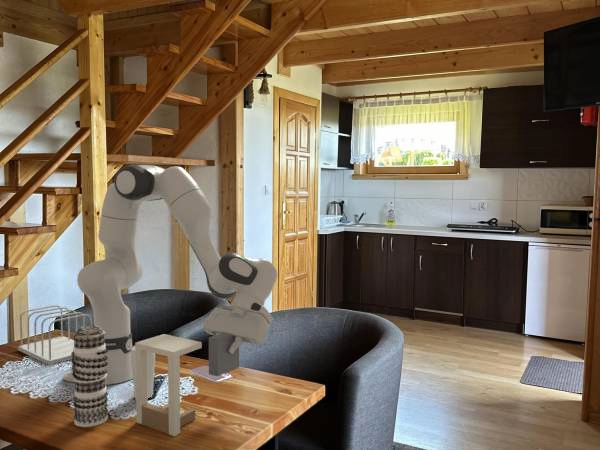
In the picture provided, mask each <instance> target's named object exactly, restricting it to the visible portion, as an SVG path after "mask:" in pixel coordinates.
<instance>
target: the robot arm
mask: <svg viewBox="0 0 600 450" xmlns="http://www.w3.org/2000/svg"><path fill="white" fill-rule="evenodd" d="M114 176H115V177H114V181H113V183H110V185H109V186H108V188H107V190H106V192H105V194H104V195H105V196H104V197H103V198H104V199H103V203H102V206H101V214H100V220H99V229H98V236H97V237H98V239H99V242H100V243H101V244H102V245H103V248H104V254H105V255H104V259H100V260H96V261H95V260H94V261H92V262H90V263H89V264H86V266H84V267H82V268H81V269H80V270H79V272H78V274H77V278H76V279H77V280H76V281H77V286H78V288H79V290H80V291H81V292H82V293H83V294H84V295H85V296H86V297H87V299H88V300H89V303H90V305H91V308H92V312H93V313H92V314H93V326H99V327H101V329H102V330H103V331H105V332H106V333H105V335H104V337H105V341H104V342H105V346H106V349H108V352H107V353H106V354H104V355H105V356H107V357H108V359H107V360H106V362H108V364H107V366H105V369H107V377H106V378H105V382H106V383H105V385H106V386H108V385H115V384H119V383H120V384H121V383H124V382H127V381H130V380H133V374H132V365H131V349H132V347H133V333H132V332H131V309H130V308H129V307H128V305H126V304H125V303H124V301H123V297H122V290H125V289H128V288H131V287H132V286H134V285H135V284H137V282H139V281H140V280H141V279H142V277H143V266H142V263H141V262H140V260H138V257H137V251H136V234H137V225H138V219H139V218H138V217H139V208H140V206H141V204H142V203H143V202H145V201H147V202H148V201H149V202H150V201H151V202H153V201H160V200H164V202H165V204H166V206H167V207H168V209H169V211H170V212H171V213H172V215H173V217H174V218H175V220H176V221H177V223H178V225H179V226H180V228H181V230H182V231H183V233H184V235H185V236H186V238H187V241H188V243H189V245H190V246H191V247H190V248H191V250H192V251H193V253H194V254H195V256H196V258H197V260H198V261H199V264H200V265H201V267H202V269H203V271H204V274H205V277H206V285H207V289H208V290H209V292H210V293H211V294H212V295H214V296H215V297H217V298H219V299H230V298H232V297H233V299H232V301H231V303H230V305H229V306H228V305H223V304H221V305H219V306H216V307H215V308H214V310H212V311H211V313H210V314H209V315H208V317H207V318H206V319H205V321H204V322H203V325H202V329H203V330H204V332H206V334H208V335H212V336H216V335H218V334H221V333H228V334H232V335H234V336H236V338H235V340H236V341H235V342H234V343H233V344H232V345H228V348H227V349H226V351H227V352H228V353H230V354H233V353H234V351H235V350H236V349H237V348H238V347H239V348H240V347H241V346H242V345H243V343H250V344H253V345H258V346H261V344H263V343H264V342H265V341H266V338H267V336H268V334H269V333H270V328H271V324H272V323H273V321H274V318H273V316H272V315H271V313H270V311H269V310H268V309H267V308H266V307H265V302H266V300H267V299H268V298H269V297H270V295H271V293H272V291H273V289H274V286H275V284H276V282H277V277H278V271H277V268H276V266H275V265H274V264H273V263H272V262H271V261H269V260H268V259H266V258H263V257H262V258H251V257H247V256H243V255H242V254H240V253H237V252H229V253H226V254H224V255H222V257H221V256H220V254H219V252H218V250H217V248H216V246H215V245H214V243H213V241H212V238H211V233H210V225H211V224H210V223H211V222H210V221H211V215H212V213H211V212H212V209H211V206H210V203H209V201H208V199H207V196H206V194H205V193H204V192H203V190H202V189H201V187H200V185H199V184H198V183H197V182H196V181H195V179H194V178H193V177H192V176H191V175H190V174H189V173H188V172H187V170H186V169H184V167H181V166H179V165H178V166H177V165H176V166H170V167H168V168H166V167H164V166H160V165H159V166H157V165H152V164H139V165H137V164H129V165H126V166H123V167H121V168H120V169H118V171H116V173H115V175H114ZM72 366H73V364H72V363H71V370H69V371H67V372H66V373H65V374H64V376H63V380H64V381H67V382H70V383H75V381H74V380H73V375H72V373H73V370H72V368H73V367H72Z"/></svg>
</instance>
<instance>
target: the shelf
mask: <svg viewBox="0 0 600 450" xmlns="http://www.w3.org/2000/svg"><path fill="white" fill-rule="evenodd" d="M134 346H135V354H136V399H135V402H136V404H135V406H136V407H135V410H136V413H135V415H136V416H135V417H136V419H135V420H136V423H137V424H140V425H143V426H145V427H148V428H151V429H153V430H156V431H159V432H161V433H164V434H168V435H170V436H172V437H176V436H178V435H180V434H181V427H183V426H185V425H187V424H189V423H191V422H193V421H195V420H196V410H195V409H192V408H190V409H188V410H186V411H184V410H181V379H180V377H181V373H180V372H181V371H180V370H181V367H180V366H181V364H180V362H181V359H180V356H184V355H186V354H188V353H191V352H194V351H196V350H199V349H202V348H203V347H202V346H203V344H202V341H197V340H193V339H189V338H183V337H179V336H174V335H170V334H166V333H163V334H160V335H156V336H153V337H149V338H146V339H143V340H140V341H137V342H135V343H134ZM147 351H148V352H152V353H155V355H161V356H165V357H167V374H168V375H167V377H168V378H167V383H168V384H167V385H168V388H167V390H168V392H167V393H168V395H167V397H168V398H167V399H168V404H165V405H163V406H157V405H153V404H151V403H148V399H147Z"/></svg>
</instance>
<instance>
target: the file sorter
mask: <svg viewBox="0 0 600 450" xmlns="http://www.w3.org/2000/svg"><path fill="white" fill-rule="evenodd" d="M64 309H65V310H64ZM56 310H57V311H56ZM58 310H60V311H58ZM49 311H50V312H49ZM45 312H46V313H45ZM26 313H29V314H28V316H27V325H26V326H27V343H26V344H23V316H24V314H26ZM38 313H40V314H39V315H37V316H36V317H35V320H34V326H33V327H34V328H33V329H34V330H33V331H34V337H33V339H34V342H30V319H31V317H32V316H33V315H35V314H38ZM63 313H64V314H63ZM65 313H66V314H65ZM54 314H55V315H54ZM56 314H58V315H56ZM49 315H53V316H49ZM42 316H47V317H45V318H44V319H43V320H42V321H41V325H40V329H41V330H40V331H41V332H40V336H41V340H40V341H37V321H38V319H39V318H41V317H42ZM81 317H82V327H85V326H86V317H88V318H90V319H89V320H90V324H89V325H90V326H93V317H92V316H91V315H90V314H88V313H86V314H85V313H83V312H80V311H78V312H77V311H76V310H75V309H69V308H68V307H65V306H62V307H61V306H60V305H57V304H55V305H47V306H42V307H38V308H31V309H26V310H24V311H22V312H21V314H20V315H19V330H20V331H19V332H20V334H19V335H20V345H19V346H17V347H18V349H17V350H18V351H19V352H21V353H23V354H25V355H26V356H29V357H31V358H33V359H35V360H37V361H39V362H41V361H42V362H41V363H43V362H44V363H43V364H45V363H46V365H47V364H48V366H51V365H52V364H53V365H56V364H59V363H58V362H60V363H63V362H62V361H64V362H66V360H68V361H70V359H71V360H72V358H73V357H71V355H72V354H71V353H72V352H73V351H74V339H72V338H71V320H72V319H75V332H76V331H77V330H78V323H79V321H78V318H81ZM55 318H58V319H55ZM49 319H55V320H53V321H51V322H50V323H49V325H48V339H44V324H45V322H46V321H47V320H49ZM65 320H68V321H67V331H68V332H67V335H68V336H64V329H63V326H64V325H63V322H64V321H65ZM56 322H60V336H57V337H53V338H51V332H52V331H51V327H52V325H53V324H54V323H56ZM74 356H75V354H74ZM55 363H56V364H55Z"/></svg>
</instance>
